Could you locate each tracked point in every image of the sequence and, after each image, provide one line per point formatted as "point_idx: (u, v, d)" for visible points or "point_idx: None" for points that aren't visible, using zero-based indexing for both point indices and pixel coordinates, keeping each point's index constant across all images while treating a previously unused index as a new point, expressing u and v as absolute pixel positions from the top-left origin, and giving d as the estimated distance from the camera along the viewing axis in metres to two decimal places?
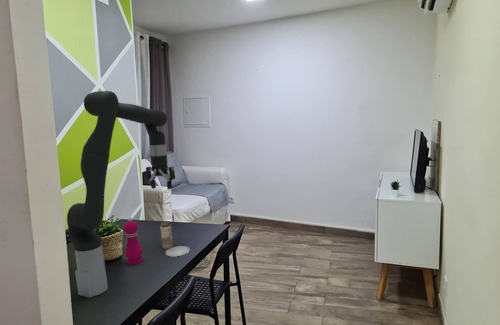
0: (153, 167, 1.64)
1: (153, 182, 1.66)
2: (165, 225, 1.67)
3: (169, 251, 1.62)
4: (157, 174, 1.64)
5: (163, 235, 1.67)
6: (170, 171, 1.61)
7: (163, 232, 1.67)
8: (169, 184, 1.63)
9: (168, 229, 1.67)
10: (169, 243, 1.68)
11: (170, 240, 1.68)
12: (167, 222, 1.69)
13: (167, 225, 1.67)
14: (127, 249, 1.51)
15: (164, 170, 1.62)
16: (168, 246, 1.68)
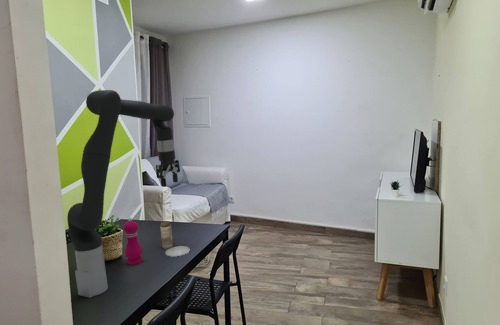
0: (165, 163, 1.59)
1: None
2: (165, 225, 1.67)
3: (169, 251, 1.62)
4: (169, 170, 1.61)
5: (163, 235, 1.67)
6: (178, 164, 1.67)
7: (163, 232, 1.67)
8: (177, 177, 1.67)
9: (168, 229, 1.67)
10: (169, 243, 1.68)
11: (170, 240, 1.68)
12: (167, 222, 1.69)
13: (167, 225, 1.67)
14: (127, 249, 1.51)
15: (173, 164, 1.65)
16: (168, 246, 1.68)
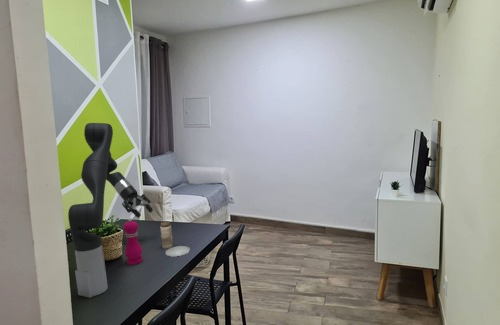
0: (130, 198, 1.72)
1: None
2: (165, 225, 1.67)
3: (169, 251, 1.62)
4: (136, 202, 1.73)
5: (163, 235, 1.67)
6: (145, 196, 1.80)
7: (163, 232, 1.67)
8: (150, 207, 1.78)
9: (168, 229, 1.67)
10: (169, 243, 1.68)
11: (170, 240, 1.68)
12: (167, 222, 1.69)
13: (167, 225, 1.67)
14: (127, 249, 1.51)
15: (140, 197, 1.77)
16: (168, 246, 1.68)
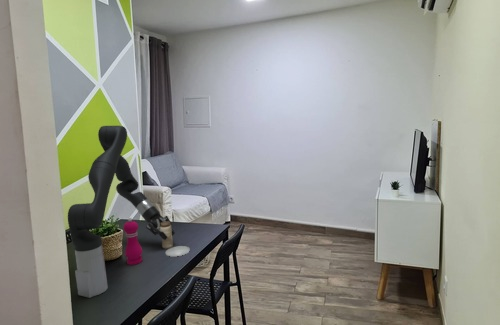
0: (152, 220, 1.68)
1: None
2: (165, 225, 1.67)
3: (169, 251, 1.62)
4: (160, 223, 1.70)
5: None
6: (168, 218, 1.75)
7: None
8: (172, 230, 1.72)
9: (168, 229, 1.67)
10: (169, 243, 1.68)
11: (170, 240, 1.68)
12: (167, 222, 1.69)
13: (167, 225, 1.67)
14: (127, 249, 1.51)
15: (163, 219, 1.73)
16: (168, 246, 1.68)
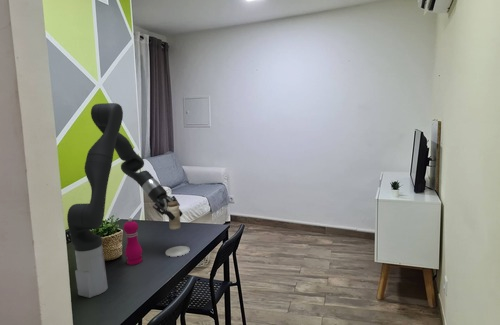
0: (159, 199, 1.59)
1: None
2: (173, 204, 1.57)
3: (169, 251, 1.62)
4: (167, 203, 1.60)
5: None
6: (175, 199, 1.66)
7: None
8: (179, 210, 1.63)
9: (176, 209, 1.58)
10: (177, 224, 1.59)
11: (178, 221, 1.59)
12: (175, 202, 1.60)
13: (175, 205, 1.58)
14: (127, 249, 1.51)
15: (170, 199, 1.64)
16: (176, 227, 1.59)
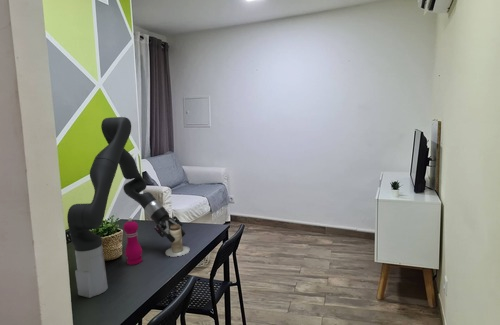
0: (162, 221, 1.60)
1: None
2: (175, 228, 1.59)
3: (169, 251, 1.62)
4: (169, 225, 1.62)
5: None
6: (177, 219, 1.68)
7: (173, 236, 1.59)
8: (182, 230, 1.65)
9: (178, 232, 1.60)
10: (179, 247, 1.60)
11: (180, 244, 1.61)
12: (177, 225, 1.61)
13: (177, 228, 1.59)
14: (127, 249, 1.51)
15: (172, 220, 1.65)
16: (178, 250, 1.60)
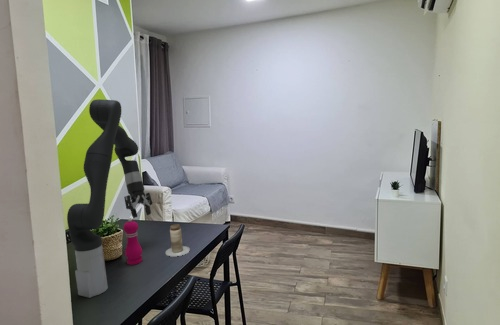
0: (134, 194, 1.62)
1: None
2: (175, 228, 1.59)
3: (169, 251, 1.62)
4: (139, 201, 1.64)
5: (173, 239, 1.59)
6: (149, 196, 1.70)
7: (173, 236, 1.59)
8: (149, 209, 1.68)
9: (178, 232, 1.60)
10: (179, 247, 1.60)
11: (180, 244, 1.61)
12: (177, 225, 1.61)
13: (177, 228, 1.59)
14: (127, 249, 1.51)
15: (144, 196, 1.67)
16: (178, 250, 1.60)
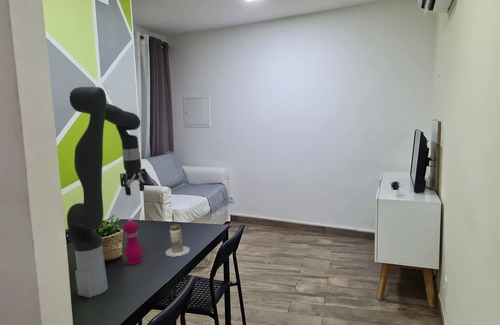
0: (130, 172, 1.59)
1: None
2: (175, 228, 1.59)
3: (169, 251, 1.62)
4: (134, 178, 1.61)
5: (173, 239, 1.59)
6: (145, 172, 1.67)
7: (173, 236, 1.59)
8: (143, 186, 1.67)
9: (178, 232, 1.60)
10: (179, 247, 1.60)
11: (180, 244, 1.61)
12: (177, 225, 1.61)
13: (177, 228, 1.59)
14: (127, 249, 1.51)
15: (140, 173, 1.64)
16: (178, 250, 1.60)
